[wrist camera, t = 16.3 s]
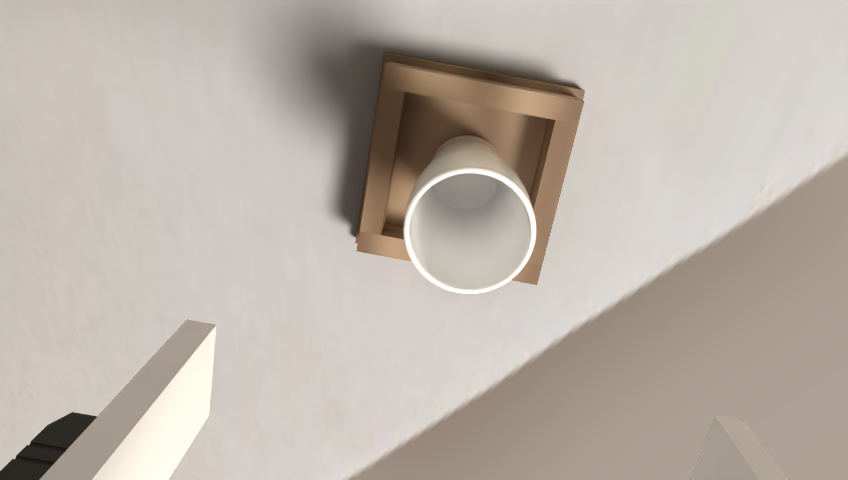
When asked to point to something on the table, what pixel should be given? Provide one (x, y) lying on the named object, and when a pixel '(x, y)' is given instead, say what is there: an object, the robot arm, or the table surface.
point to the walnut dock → (456, 116)
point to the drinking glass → (469, 218)
